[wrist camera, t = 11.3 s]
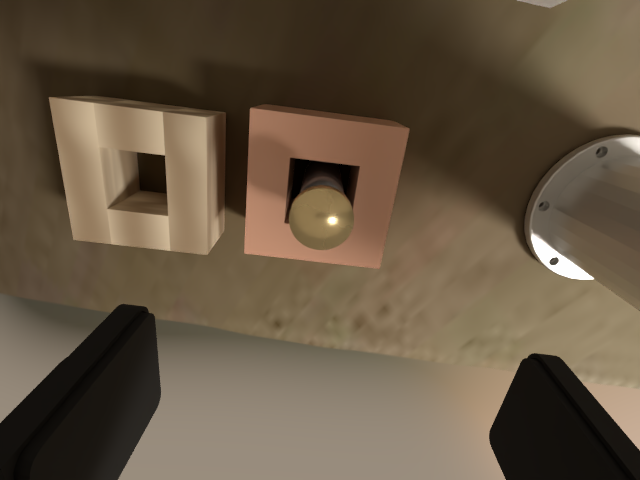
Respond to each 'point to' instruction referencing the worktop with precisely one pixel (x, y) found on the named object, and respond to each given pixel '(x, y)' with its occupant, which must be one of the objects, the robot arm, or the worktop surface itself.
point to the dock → (327, 146)
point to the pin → (321, 208)
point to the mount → (123, 174)
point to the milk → (544, 2)
